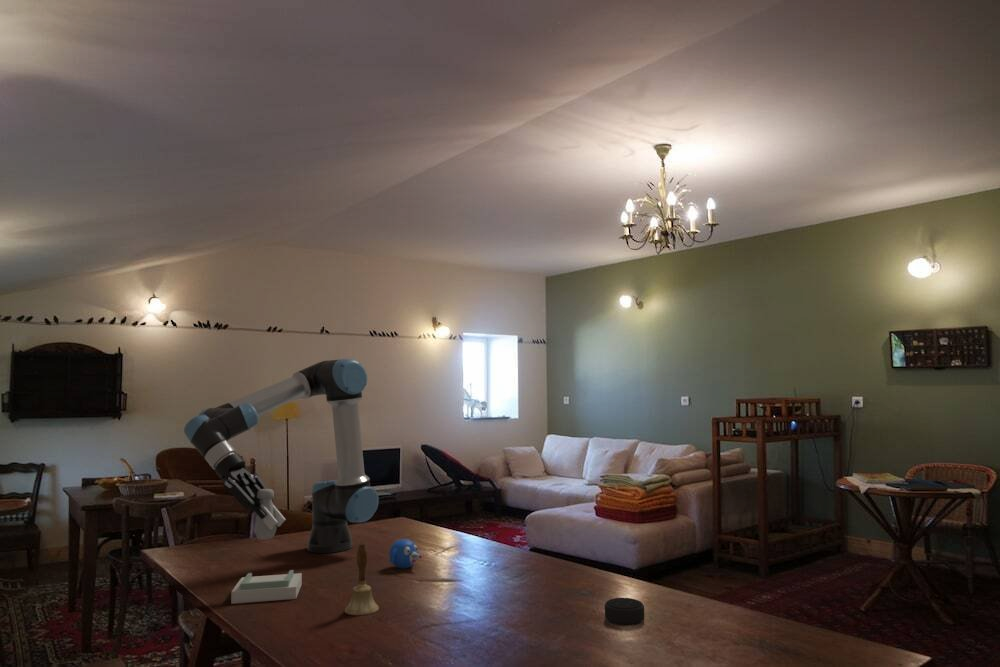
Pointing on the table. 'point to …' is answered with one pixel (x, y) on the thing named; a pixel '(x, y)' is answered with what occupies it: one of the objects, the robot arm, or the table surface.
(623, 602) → the smart speaker
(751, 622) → the table surface
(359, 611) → the hand bell
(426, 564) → the table surface
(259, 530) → the salt shaker
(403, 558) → the blue rounded piece
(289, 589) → the dock
